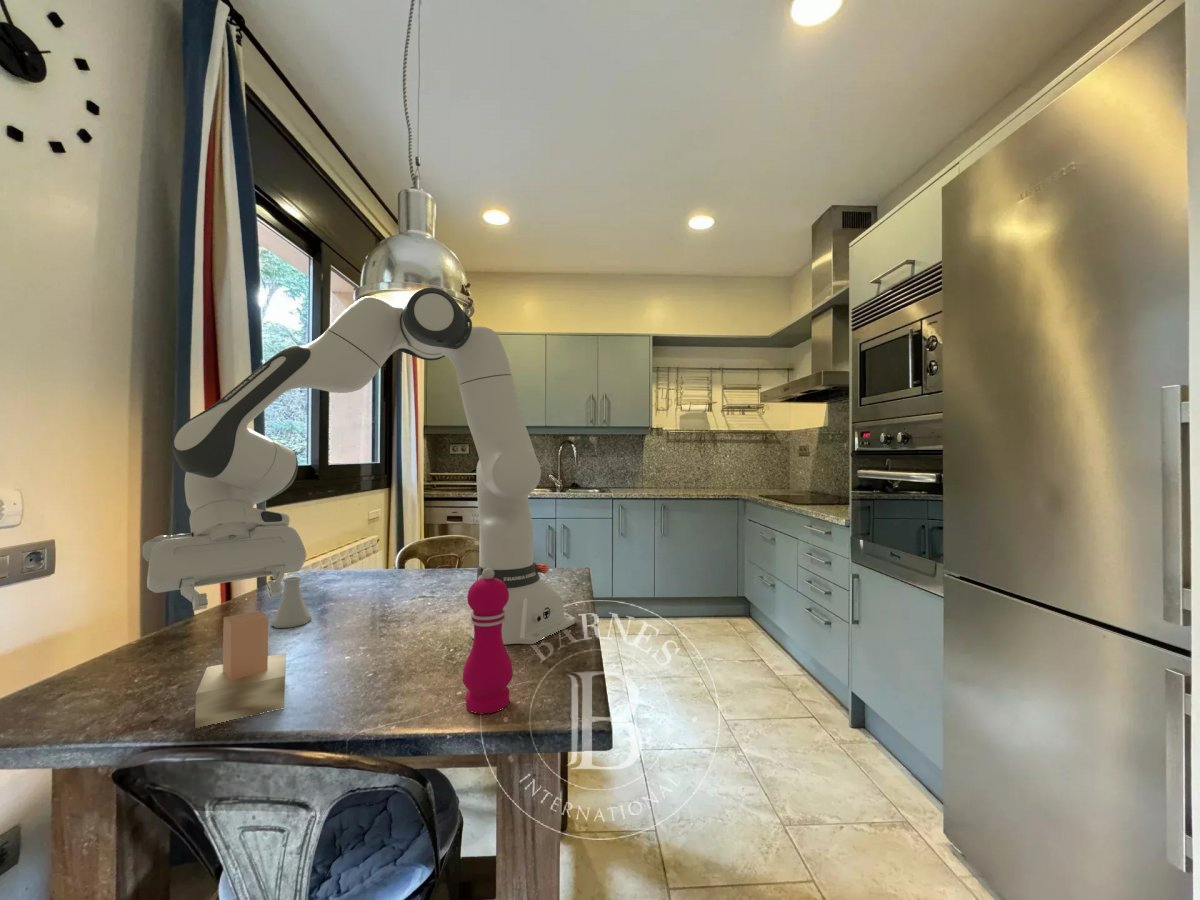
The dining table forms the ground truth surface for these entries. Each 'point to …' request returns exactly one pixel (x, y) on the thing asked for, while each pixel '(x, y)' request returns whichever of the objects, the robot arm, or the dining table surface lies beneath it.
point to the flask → (291, 606)
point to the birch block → (239, 693)
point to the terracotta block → (245, 644)
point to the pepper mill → (487, 647)
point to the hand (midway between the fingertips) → (240, 600)
